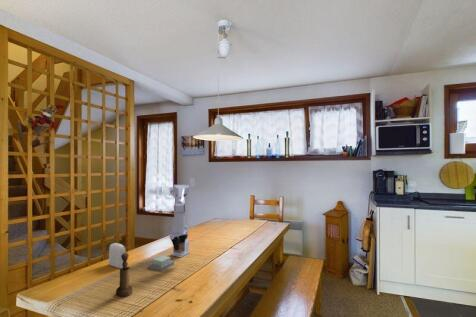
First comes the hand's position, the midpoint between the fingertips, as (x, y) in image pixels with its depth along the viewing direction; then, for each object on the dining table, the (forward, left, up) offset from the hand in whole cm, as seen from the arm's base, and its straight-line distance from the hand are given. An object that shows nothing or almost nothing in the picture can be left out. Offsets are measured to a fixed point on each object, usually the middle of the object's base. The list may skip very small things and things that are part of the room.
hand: (178, 248), depth 148 cm
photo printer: (+16, -30, -10) cm, 35 cm away
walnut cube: (0, 0, -2) cm, 2 cm away
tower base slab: (+5, -8, -10) cm, 14 cm away
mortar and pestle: (+36, -2, -10) cm, 37 cm away
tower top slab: (+5, -8, -8) cm, 12 cm away
